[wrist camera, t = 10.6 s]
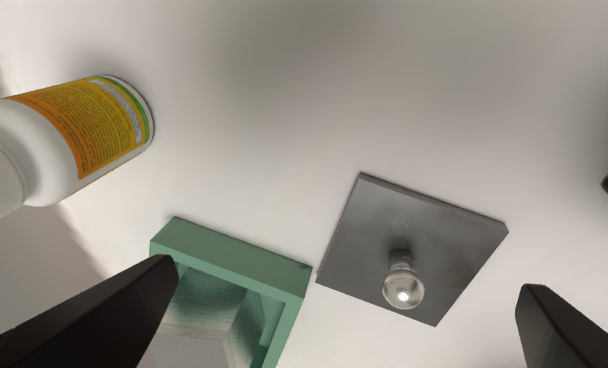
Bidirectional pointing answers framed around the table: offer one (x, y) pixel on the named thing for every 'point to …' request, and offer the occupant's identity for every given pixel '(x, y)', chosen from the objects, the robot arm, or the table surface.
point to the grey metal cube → (209, 324)
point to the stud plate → (406, 250)
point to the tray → (241, 277)
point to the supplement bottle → (67, 138)
